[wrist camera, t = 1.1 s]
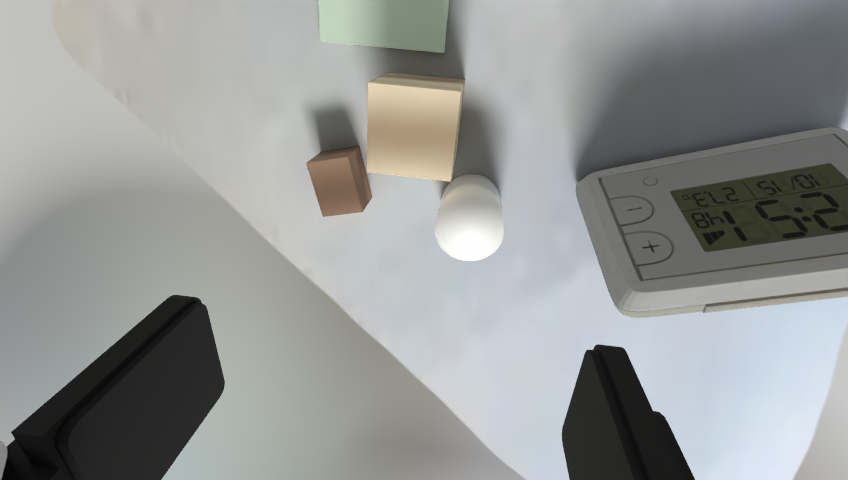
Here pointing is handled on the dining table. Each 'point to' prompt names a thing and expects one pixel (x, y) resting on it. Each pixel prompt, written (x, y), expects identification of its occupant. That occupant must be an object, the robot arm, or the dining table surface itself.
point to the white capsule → (470, 218)
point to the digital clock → (724, 225)
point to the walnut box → (340, 181)
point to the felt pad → (385, 23)
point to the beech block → (413, 125)
